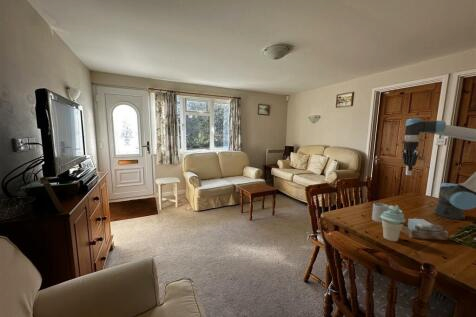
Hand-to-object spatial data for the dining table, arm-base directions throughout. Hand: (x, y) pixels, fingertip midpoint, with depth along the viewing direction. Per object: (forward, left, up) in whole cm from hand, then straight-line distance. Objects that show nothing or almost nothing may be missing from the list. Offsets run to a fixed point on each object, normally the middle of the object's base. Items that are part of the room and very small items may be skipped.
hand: (408, 174), depth 140 cm
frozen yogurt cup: (+30, +37, -29) cm, 56 cm away
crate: (+9, +28, -29) cm, 42 cm away
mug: (+22, +11, -29) cm, 38 cm away
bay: (+9, +24, -29) cm, 39 cm away
